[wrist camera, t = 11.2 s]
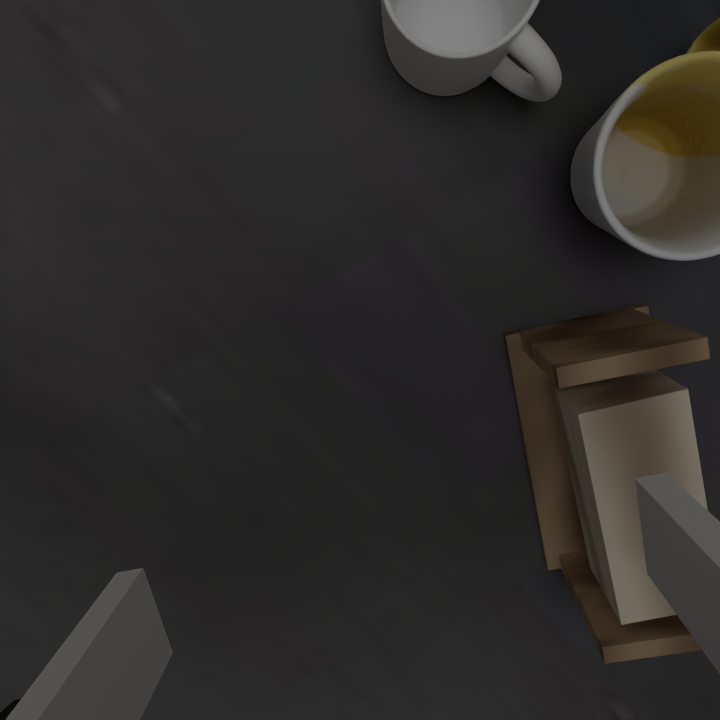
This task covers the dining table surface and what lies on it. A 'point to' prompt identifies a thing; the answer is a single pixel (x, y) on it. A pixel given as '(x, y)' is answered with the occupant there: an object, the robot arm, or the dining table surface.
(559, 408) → the beige wooden block
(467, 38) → the mug
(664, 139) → the mug
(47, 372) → the dining table surface
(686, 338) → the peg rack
